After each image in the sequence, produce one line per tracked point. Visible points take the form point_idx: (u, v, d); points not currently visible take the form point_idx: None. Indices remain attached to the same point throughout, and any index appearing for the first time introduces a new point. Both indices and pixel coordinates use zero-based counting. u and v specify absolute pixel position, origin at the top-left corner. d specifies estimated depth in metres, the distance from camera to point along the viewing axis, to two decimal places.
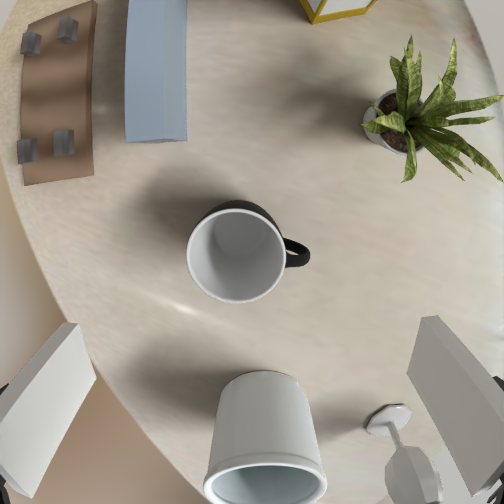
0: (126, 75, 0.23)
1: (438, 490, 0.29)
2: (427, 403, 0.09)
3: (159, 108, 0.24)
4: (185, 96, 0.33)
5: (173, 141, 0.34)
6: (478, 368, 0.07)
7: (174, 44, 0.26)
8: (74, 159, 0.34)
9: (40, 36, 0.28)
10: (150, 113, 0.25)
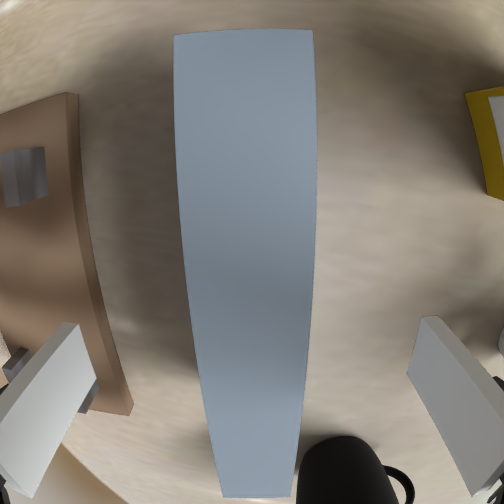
0: (212, 434, 0.11)
1: None
2: (427, 403, 0.09)
3: (286, 475, 0.12)
4: None
5: None
6: (478, 368, 0.07)
7: None
8: (101, 394, 0.22)
9: None
10: (268, 479, 0.13)
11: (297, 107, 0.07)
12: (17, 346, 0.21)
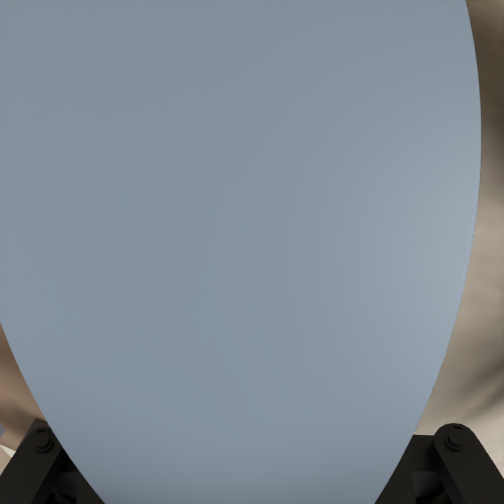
0: None
1: None
2: None
3: None
4: None
5: None
6: None
7: None
8: None
9: None
10: None
11: (415, 32, 0.01)
12: None
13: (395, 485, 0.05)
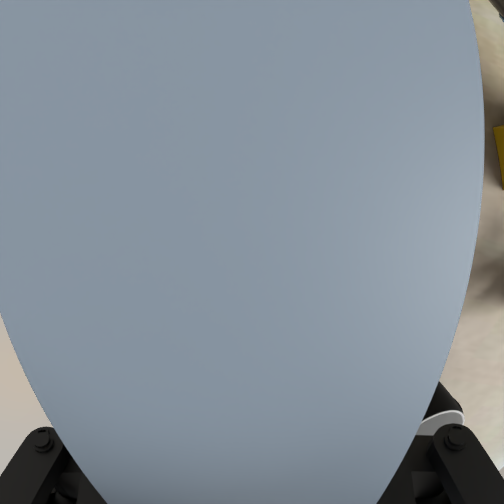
0: None
1: None
2: None
3: None
4: None
5: None
6: None
7: None
8: None
9: None
10: None
11: (423, 41, 0.01)
12: None
13: (394, 485, 0.05)
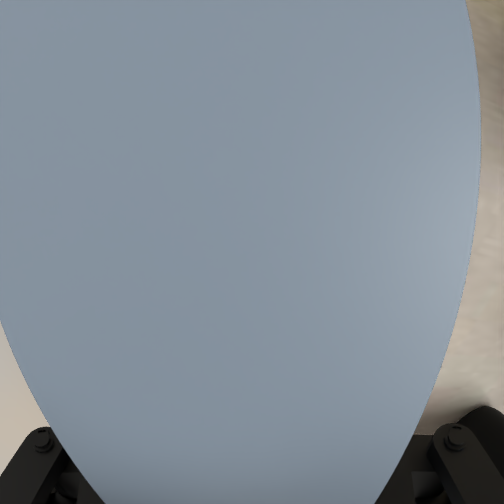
0: None
1: None
2: None
3: None
4: None
5: None
6: None
7: None
8: None
9: None
10: None
11: (418, 44, 0.01)
12: None
13: (394, 484, 0.05)
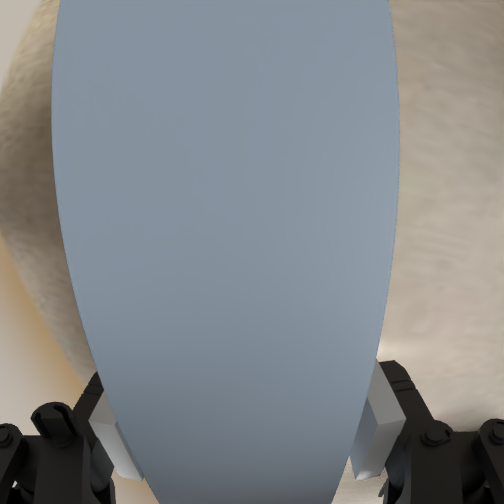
0: None
1: None
2: None
3: None
4: None
5: None
6: None
7: None
8: None
9: None
10: None
11: (354, 72, 0.03)
12: None
13: (444, 481, 0.04)
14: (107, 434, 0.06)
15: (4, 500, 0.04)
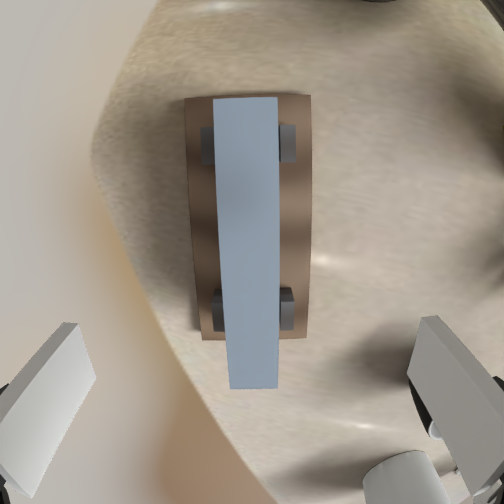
0: (226, 320, 0.21)
1: None
2: (427, 403, 0.09)
3: (273, 361, 0.22)
4: None
5: None
6: (478, 368, 0.07)
7: None
8: None
9: None
10: (261, 365, 0.22)
11: (270, 134, 0.17)
12: (212, 288, 0.31)
13: None
14: None
15: None
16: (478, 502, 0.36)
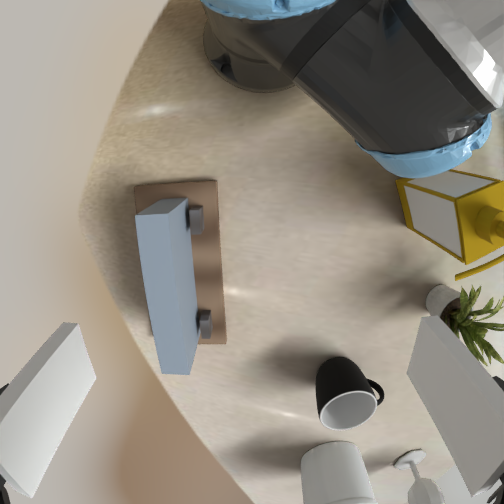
0: (154, 332, 0.35)
1: None
2: (427, 403, 0.09)
3: (183, 358, 0.36)
4: (196, 303, 0.45)
5: None
6: (478, 368, 0.07)
7: (185, 288, 0.38)
8: (212, 331, 0.47)
9: None
10: (177, 360, 0.37)
11: (165, 235, 0.32)
12: None
13: None
14: None
15: None
16: (411, 495, 0.50)
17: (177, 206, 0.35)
